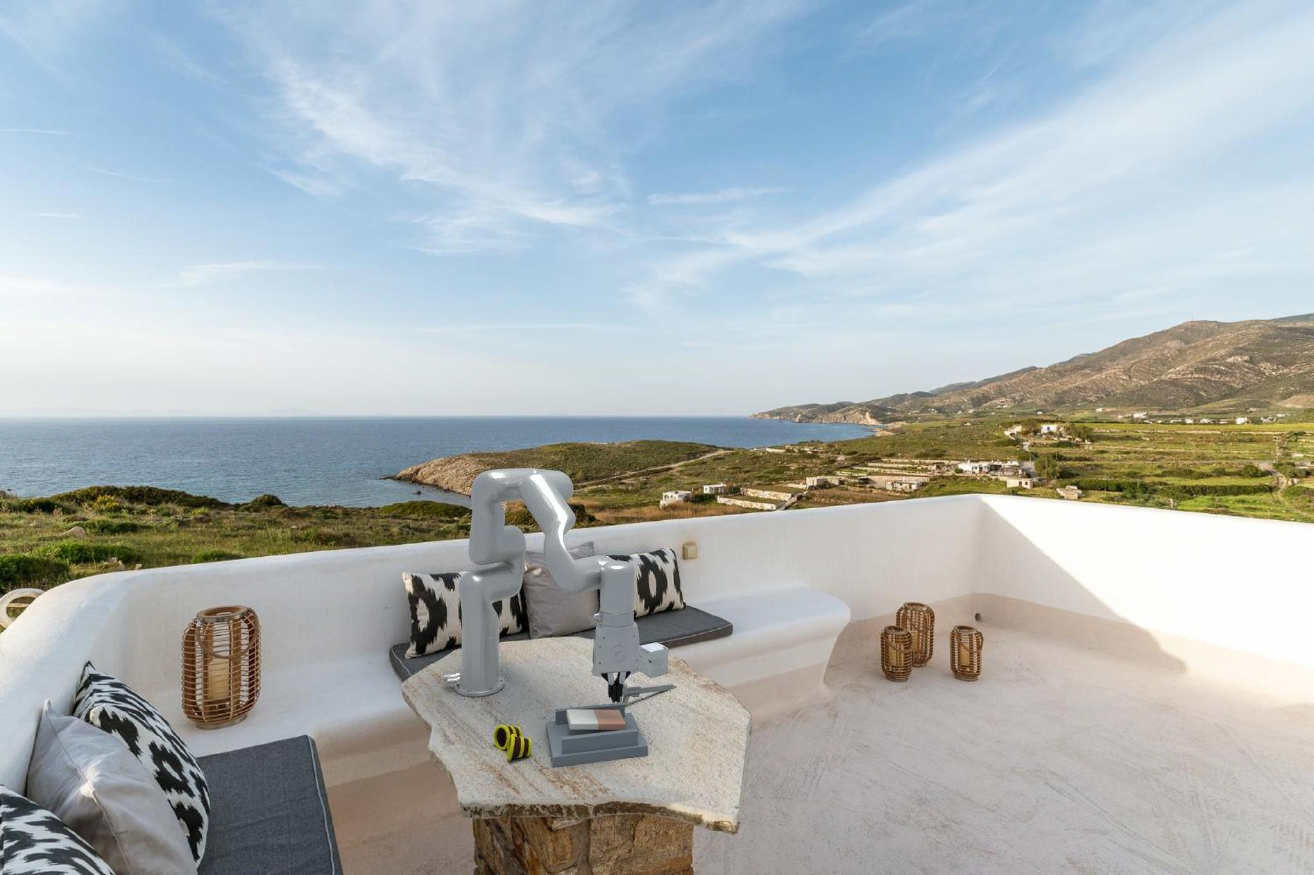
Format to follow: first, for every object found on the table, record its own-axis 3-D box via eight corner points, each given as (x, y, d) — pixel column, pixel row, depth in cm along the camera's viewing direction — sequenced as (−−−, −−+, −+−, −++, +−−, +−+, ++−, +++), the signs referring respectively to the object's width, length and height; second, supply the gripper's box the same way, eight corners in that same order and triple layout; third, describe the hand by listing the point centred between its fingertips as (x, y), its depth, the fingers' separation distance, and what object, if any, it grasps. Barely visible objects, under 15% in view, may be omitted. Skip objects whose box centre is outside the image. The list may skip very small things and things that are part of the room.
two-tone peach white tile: (570, 729, 130) (570, 723, 130) (566, 714, 137) (566, 709, 137) (624, 729, 133) (625, 724, 133) (618, 715, 140) (619, 710, 140)
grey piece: (552, 767, 125) (553, 742, 125) (545, 730, 140) (546, 708, 140) (647, 755, 130) (648, 731, 130) (631, 721, 145) (631, 700, 145)
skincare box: (638, 671, 176) (639, 645, 176) (655, 666, 180) (656, 641, 180) (651, 678, 172) (651, 651, 172) (668, 673, 175) (668, 647, 175)
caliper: (618, 710, 151) (619, 685, 151) (616, 709, 152) (616, 684, 152) (677, 688, 165) (677, 665, 165) (674, 687, 166) (674, 664, 166)
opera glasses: (531, 762, 128) (536, 738, 129) (507, 765, 125) (512, 740, 126) (513, 743, 136) (518, 720, 137) (491, 745, 133) (495, 721, 134)
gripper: (585, 625, 131) (584, 710, 131) (653, 621, 135) (651, 704, 135) (580, 615, 138) (579, 696, 138) (645, 611, 142) (643, 690, 142)
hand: (615, 699), depth 136 cm, fingers closed
